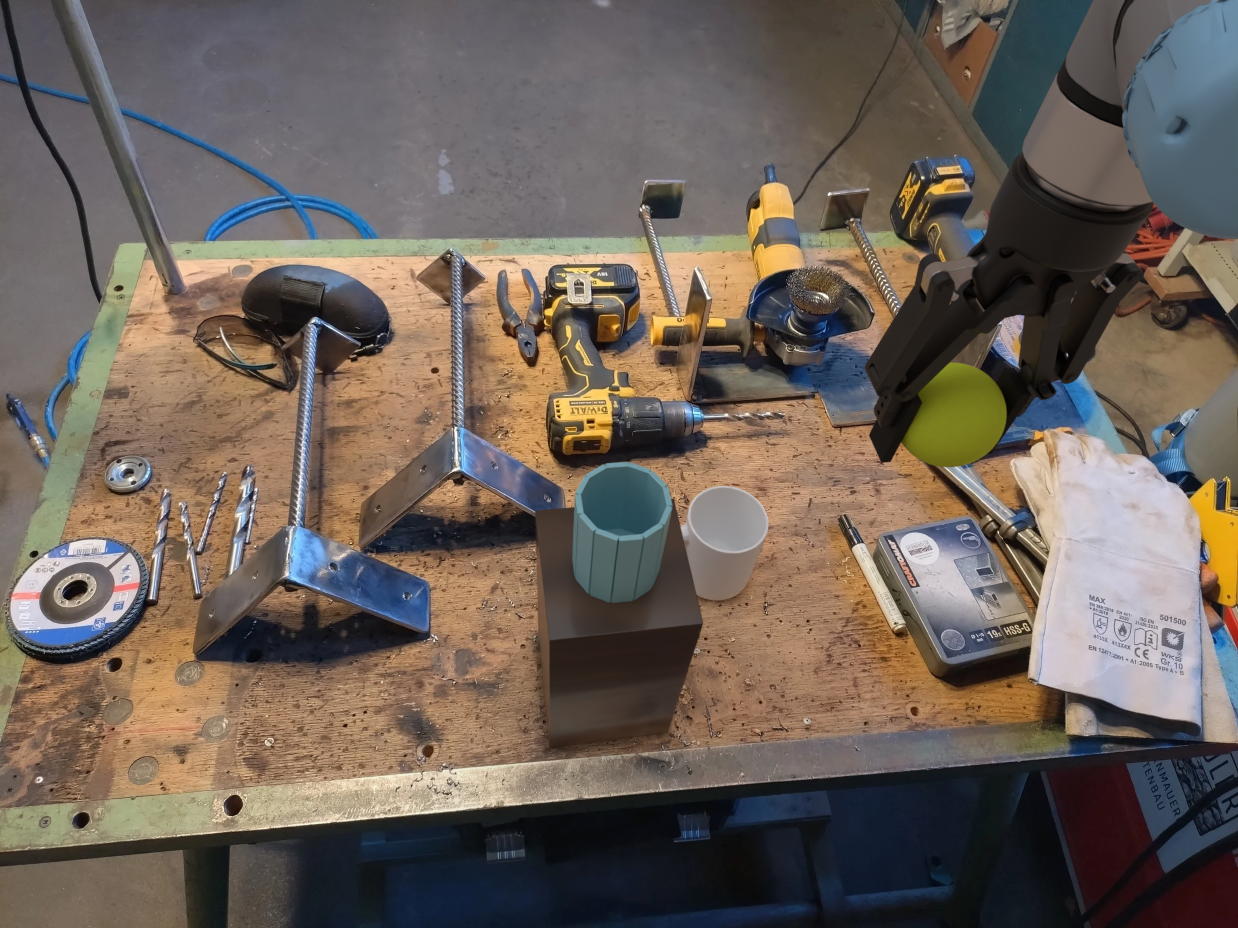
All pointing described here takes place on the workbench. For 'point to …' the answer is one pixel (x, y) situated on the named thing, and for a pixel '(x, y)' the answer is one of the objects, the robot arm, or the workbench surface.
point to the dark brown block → (611, 642)
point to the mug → (723, 540)
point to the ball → (957, 417)
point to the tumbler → (620, 530)
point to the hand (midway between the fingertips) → (930, 444)
